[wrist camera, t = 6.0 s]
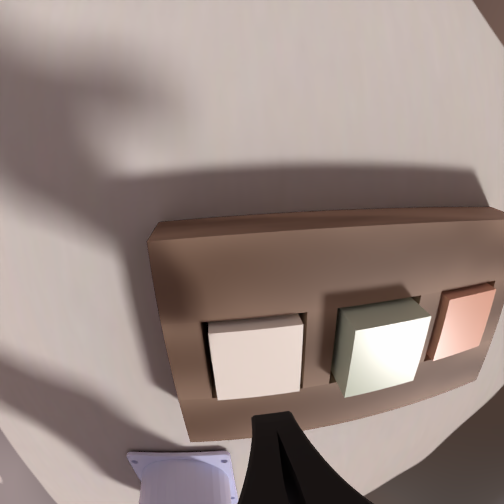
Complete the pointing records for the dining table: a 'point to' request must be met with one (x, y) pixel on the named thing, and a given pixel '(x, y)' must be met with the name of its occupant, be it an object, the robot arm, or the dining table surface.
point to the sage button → (378, 345)
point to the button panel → (316, 299)
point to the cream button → (256, 356)
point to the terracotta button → (460, 320)
